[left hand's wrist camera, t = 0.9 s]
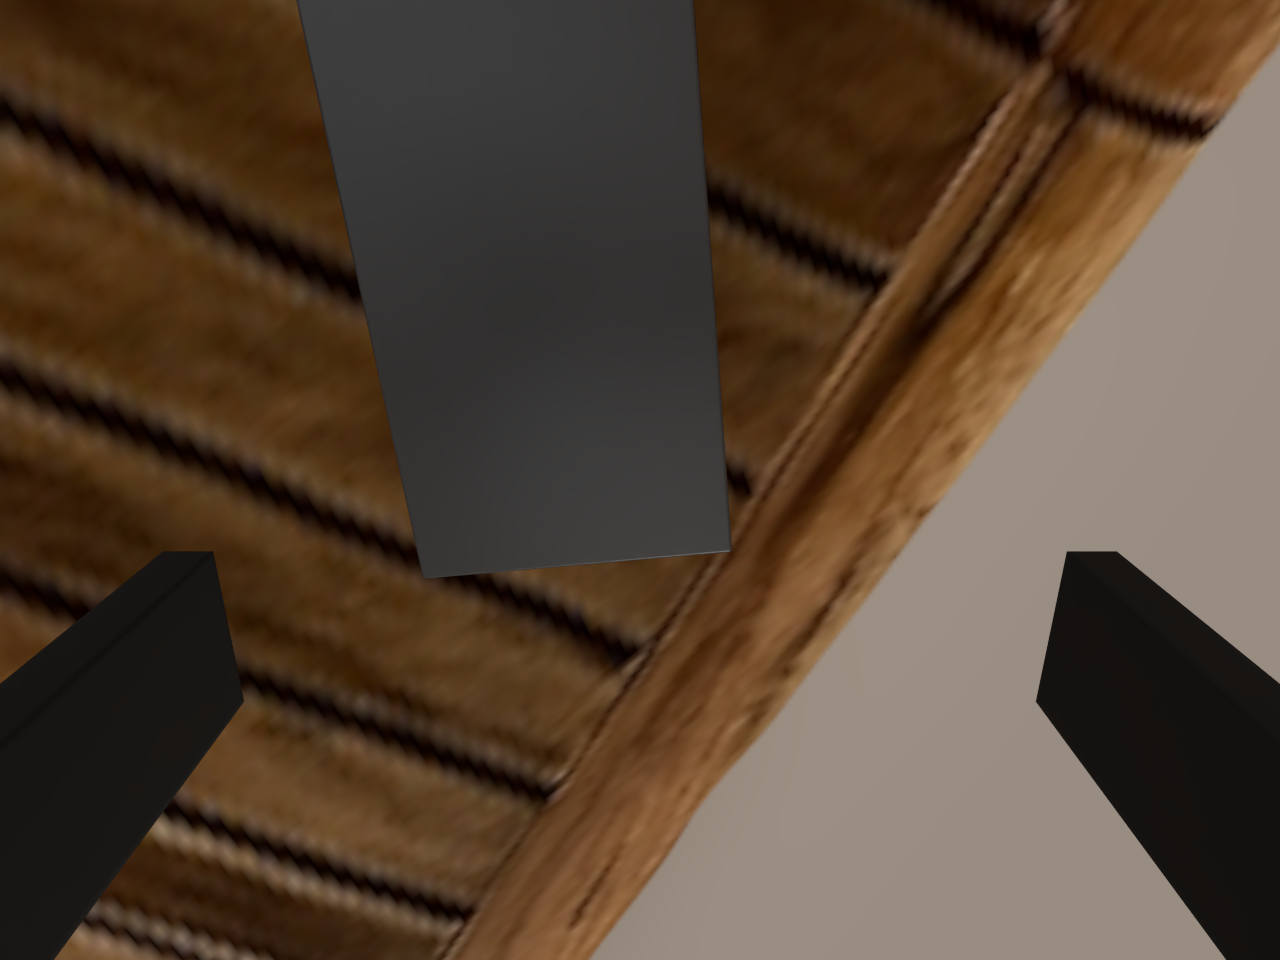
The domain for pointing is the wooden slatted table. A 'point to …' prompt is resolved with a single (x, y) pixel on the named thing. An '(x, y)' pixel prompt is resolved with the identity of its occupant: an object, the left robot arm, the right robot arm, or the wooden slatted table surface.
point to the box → (533, 271)
